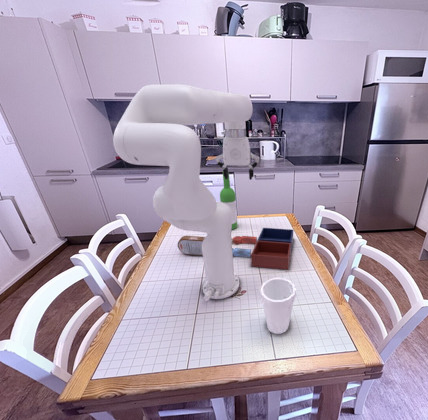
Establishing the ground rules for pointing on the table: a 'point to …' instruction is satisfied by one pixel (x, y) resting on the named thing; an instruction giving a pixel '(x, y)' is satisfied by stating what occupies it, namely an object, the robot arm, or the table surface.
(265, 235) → the blue bin
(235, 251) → the blue spoon
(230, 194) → the wine bottle
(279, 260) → the red bin
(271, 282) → the foam cup
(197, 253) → the tin
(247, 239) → the red spoon
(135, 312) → the table surface
